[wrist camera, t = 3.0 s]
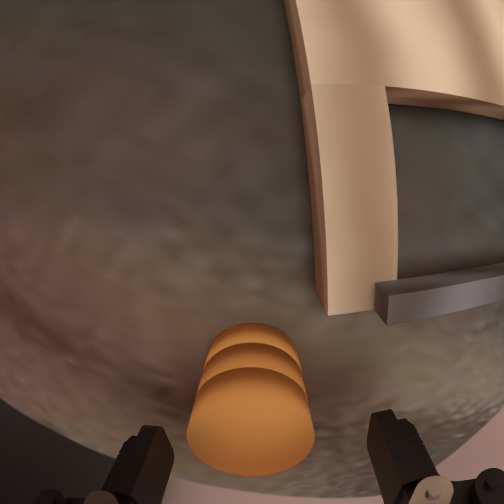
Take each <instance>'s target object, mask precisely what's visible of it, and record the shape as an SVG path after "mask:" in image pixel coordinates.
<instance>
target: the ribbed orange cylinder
mask: <svg viewBox="0 0 504 504" xmlns="http://www.w3.org/2000/svg"><path fill="white" fill-rule="evenodd" d="M186 436H187V442H188V445H189V447H190V449H191V450H192V452H193V453H194V454H195V455H196V456H197V457H198V458H199V459H200V460H201V461H202V462H204V463H205V464H207V465H209V466H211V467H212V468H215V469H217V470H219V471H222V472H225V473H229V474H234V475H240V476H264V475H270V474H275V473H279V472H282V471H284V470H287V469H289V468H291V467H293V466H295V465H297V464H298V463H299V462H301V461H302V460H303V459H304V458H305V457H306V456H307V455H308V454H309V453H310V451H311V449H312V447H313V444H314V440H315V435H314V428H313V423H312V418H311V414H310V409H309V404H308V399H307V394H306V389H305V384H304V380H303V375H302V370H301V365H300V361H299V356H298V352H297V349H296V347H295V345H294V343H293V342H292V340H291V339H290V338H289V337H288V336H287V335H286V334H285V333H283V332H282V331H280V330H279V329H277V328H275V327H272V326H269V325H266V324H261V323H245V324H239V325H236V326H233V327H230V328H228V329H227V330H225V331H223V332H222V333H221V334H219V335H218V336H217V337H216V338H215V340H214V341H213V342H212V344H211V346H210V348H209V351H208V354H207V358H206V362H205V365H204V369H203V373H202V376H201V380H200V383H199V387H198V391H197V394H196V398H195V402H194V405H193V409H192V413H191V417H190V420H189V424H188V428H187V433H186Z"/></svg>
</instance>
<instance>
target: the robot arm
mask: <svg viewBox="0 0 504 504" xmlns="http://www.w3.org/2000/svg"><path fill="white" fill-rule="evenodd" d="M367 448H368V452H369V455H370V459H371V462H372V465H373V468H374V471H375V474H376V478H377V481H378V484H379V488H380V491H381V494H382V498H383V501H384V504H504V471H502V470H500V469H497V468H490V469H486V470H484V471H483V472H481V473H480V474H479V476H478V477H477V478H476V479H471V480H464V481H449V480H448V479H447V478H445V477H442V476H440V475H439V474H438V472H437V471H436V468H435V466H434V464H433V462H432V460H431V458H430V456H429V454H428V452H427V450H426V448H425V446H424V445H423V442H422V440H421V438H420V437H419V434H418V432H417V430H416V428H415V426H414V425H413V424H411V423H410V422H409V421H408V420H406V419H405V418H404V419H400V420H397V419H396V417H395V415H394V413H393V411H392V410H391V409H388V410H384V411H379V412H375V413H372V414H371V418H370V424H369V430H368V435H367ZM173 462H174V452H173V449H172V446H171V444H170V442H169V440H168V437H167V435H166V433H165V431H164V429H163V427H161V426H149V425H143V426H142V427H141V429H140V432H139V434H138V436H131V437H130V438H129V439H128V440H127V441H126V442H125V443H124V444H123V446H122V448H121V450H120V452H119V455H118V456H117V458H116V462H114V464H113V466H112V469H111V471H110V473H109V475H108V477H107V479H106V481H105V483H104V485H103V487H102V489H101V490H100V491H95V492H92V493H91V494H89V495H88V496H87V497H86V498H66V497H65V496H64V495H63V494H62V493H61V492H59V491H58V490H55V489H47V490H44V491H42V492H41V493H40V494H39V495H38V497H37V498H36V500H35V502H34V504H161V502H162V499H163V496H164V492H165V489H166V485H167V482H168V479H169V476H170V472H171V469H172V466H173Z"/></svg>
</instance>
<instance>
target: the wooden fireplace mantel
mask: <svg viewBox="0 0 504 504" xmlns="http://www.w3.org/2000/svg"><path fill="white" fill-rule="evenodd" d="M284 3H285V8H286V14H287V19H288V25H289V30H290V36H291V42H292V48H293V54H294V60H295V67H296V74H297V80H298V88H299V95H300V102H301V110H302V118H303V127H304V136H305V145H306V154H307V164H308V175H309V187H310V199H311V212H312V227H313V243H314V262H315V286H316V292H317V294H318V296H319V298H320V300H321V302H322V304H323V306H324V308H325V310H326V312H327V315H328V316H330V315H338V314H346V313H353V312H360V311H367V310H375V311H376V313H377V314H378V315H379V316H380V318H381V319H382V320H383V321H384V323H385V324H386V325H393V324H398V323H404V322H409V321H414V320H419V319H424V318H429V317H434V316H438V315H443V314H447V313H452V312H456V311H460V310H464V309H469V308H473V307H477V306H480V305H484V304H488V303H492V302H495V301H499V300H503V299H504V262H503V263H498V264H492V265H487V266H481V267H475V268H470V269H464V270H458V271H451V272H445V273H439V274H432V275H425V276H419V277H412V278H405V279H397V263H398V210H397V187H396V171H395V159H394V148H393V139H392V130H391V123H390V115H389V108H388V104H400V105H412V106H422V107H431V108H439V109H447V110H454V111H460V112H466V113H472V114H478V115H483V116H488V117H493V118H498V119H502V120H504V0H284Z"/></svg>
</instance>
